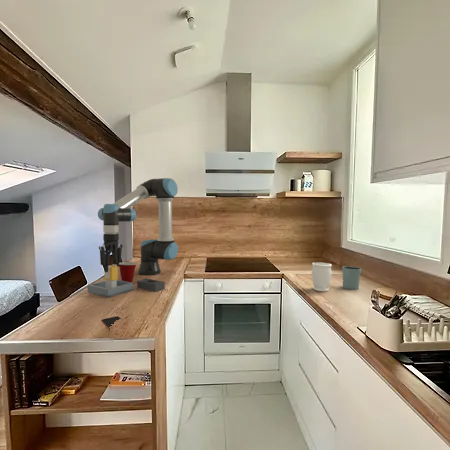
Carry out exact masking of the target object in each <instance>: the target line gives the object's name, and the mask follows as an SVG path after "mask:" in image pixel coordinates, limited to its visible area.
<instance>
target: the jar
mask: <svg viewBox="0 0 450 450" xmlns="http://www.w3.org/2000/svg"><path fill="white" fill-rule="evenodd" d="M311 265H312V270H311V278H312V284H313V290H314V291H318V292H329V290H330V288H329V287H330V286H331V285H330V284H331V280H332V266H333V265H332V264H331V263H328V262H321V261H320V262H319V261H317V262H312V264H311Z"/></svg>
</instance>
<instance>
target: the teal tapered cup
mask: <svg viewBox="0 0 450 450" xmlns="http://www.w3.org/2000/svg"><path fill="white" fill-rule="evenodd" d="M341 269H342V288H343V287H344V289H346V290H350V291H351V290H352V291H353V290H359V287H360V279H361V278H360V277H361V274H362V273H361V272H362V268H361V267H357V266H349V265H348V266H347V265H344V266H342V268H341Z"/></svg>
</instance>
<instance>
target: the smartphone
mask: <svg viewBox="0 0 450 450" xmlns="http://www.w3.org/2000/svg"><path fill="white" fill-rule="evenodd" d="M119 319H122V318H121V317H120V316H111V317H108V318H107V317H106V318H104V319H100V322H102V323H103V324H104V326H105V327H106V326H107V327H108V328H109V327H110V326H112V325H111V324H114V322H115V321H116V320H119ZM107 327H106V328H107ZM108 328H107V329H108ZM109 329H110V328H109ZM109 329H108V330H109Z"/></svg>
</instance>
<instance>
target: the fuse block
mask: <svg viewBox="0 0 450 450" xmlns="http://www.w3.org/2000/svg"><path fill="white" fill-rule="evenodd" d="M165 283H166V282H165V281H161V280H159V279H158V280H157V279H151V278H143V279H139V280H136V288H137V289H141V290H145V291H148V292H149V291H150V292H159V291H163V290H165V289H166V287H165V285H166V284H165Z"/></svg>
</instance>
